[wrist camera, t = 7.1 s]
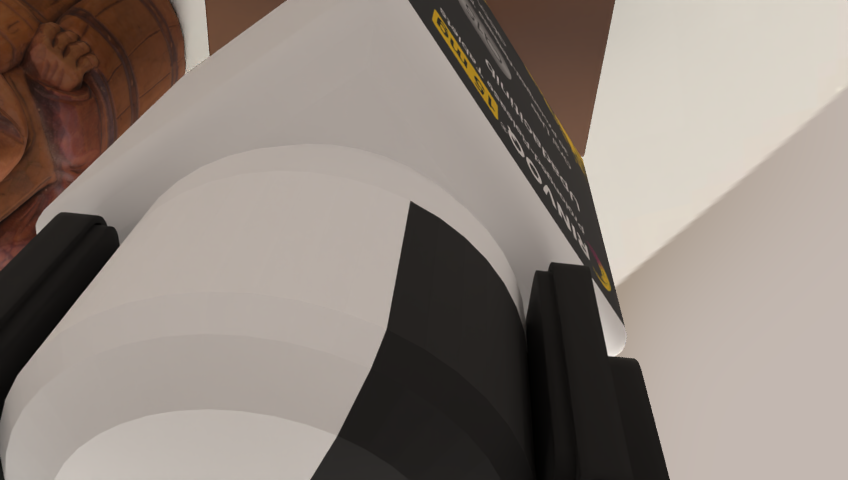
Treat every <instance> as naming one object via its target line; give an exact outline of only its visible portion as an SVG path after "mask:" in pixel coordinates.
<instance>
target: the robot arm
mask: <svg viewBox="0 0 848 480" xmlns="http://www.w3.org/2000/svg"><path fill="white" fill-rule="evenodd" d="M119 247H120V243H119V237H118V233H117V231H116V229H115V228H114V227H112V226H107V223H106V221H105V220H104V218H103V217H101V216H99V215H89V214H79V213H70V212H60V213H59V214H57V215H56V216H55V217H54V218H53V219H52V220H51V221H50V222H49V223H48V224H47V225H46V226H45V227H44V228H43V229H42V230H41V231H40V232H39V233H38V234H37V235H36V236H35V237H34V238H33V239H32V240H31V241H30V242H29V243H28V244H27V245H26V246H25V247H24V248H23V249H22V250H21V251H20V252H19V253H18V254H17V255H16V256H15V257H14V258H13V259H12V260H11V261H10V262H9V263H8V264H7V265H6V266H5V267H4V268H3V269H2V270H1V271H0V420H1V416H2V412H3V407H4V403H5V399H6V397H7V395H8V393H9V391H10V389H11V387H12V385H13V383H14V381H15V379H16V377H17V375H18V374H19V373H20V371H21V370H22V369H23V368H24V366H25V365H26V364H27V363H28V361H29V360H30V359H31V357H32V356H33V355H34V354H35V352H36V351H37V350H38V349H39V347H40V346H41V345H42V344H43V342H44V341H45V340H46V339H47V337H48V336H49V335H50V334H51V332H52V331H53V330H54V328H55V327H56V326H57V325H58V323H59V322H60V321H61V320H62V318H63V317H64V316H65V315H66V313H67V312H68V311H69V310H70V308H71V307H72V306H73V305H74V303H75V302H76V301H77V299H78V298H79V297H80V296H81V294H82V293H83V292H84V291H85V289H86V288H87V287H88V286H89V284H90V283H91V282H92V281H93V279H94V278H95V277H96V276H97V274H98V273H99V272H100V270H101V269H102V268H103V267H104V265H105V264H106V263H107V262H108V260H109V259H110V258H111V257H112V255H113V254H114V253H115V252H116V250H117V249H118V248H119ZM525 322H526V336H527V350H528V364H529V379H530V393H531V407H532V421H533V436H534V450H535V464H536V478H537V480H670V479H669V476H668V471H667V467H666V463H665V459H664V455H663V452H662V448H661V444H660V440H659V436H658V432H657V429H656V425H655V421H654V417H653V413H652V409H651V405H650V402H649V398H648V394H647V390H646V386H645V382H644V378H643V375H642V371H641V368H640V365H639V363H638V361H637V360H636V359H632V358H623V357H614V356H608V353H607V348H606V343H605V339H604V334H603V329H602V324H601V319H600V315H599V310H598V305H597V300H596V295H595V290H594V286H593V281H592V276H591V271H590V268H589V266H585V265H576V264H566V263H556V262H551V263H550V265H549V268H548V271H540V270H536V271H535V274H534V278H533V283H532V288H531V294H530V299H529V305H528V310H527V315H526V321H525ZM0 480H5V479H4V474H3V469H2V463H1V458H0Z"/></svg>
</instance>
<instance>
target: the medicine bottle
mask: <svg viewBox="0 0 848 480" xmlns="http://www.w3.org/2000/svg"><path fill="white" fill-rule="evenodd" d="M60 212H70V213H79V214H89V215H99V216H101V217H103V218H104V220H105V221H106V223H107V226H112V227H114V228H115V229H116V231H117V233H118V237H119V243H120V247H119V248H118V249H117V250H116V252H115V253H114V254H113V255H112V257H111V258H110V259H109V260H108V262H107V263H106V264H105V265H104V267H103V268H102V269H101V270H100V272H99V273H98V274H97V276H96V277H95V278H94V279H93V281H92V282H91V283H90V284H89V286H88V287H87V288H86V289H85V291H84V292H83V293H82V294H81V296H80V297H79V298H78V299H77V301H76V302H75V303H74V305H73V306H72V307H71V308H70V310H69V311H68V312H67V313H66V315H65V316H64V317H63V318H62V320H61V321H60V322H59V323H58V325H57V326H56V327H55V328H54V330H53V331H52V332H51V334H50V335H49V336H48V337H47V339H46V340H45V341H44V342H43V344H42V345H41V346H40V347H39V349H38V350H37V351H36V352H35V354H34V355H33V356H32V357H31V359H30V360H29V361H28V363H27V364H26V365H25V366H24V368H23V369H22V370H21V371H20V373H19V374H18V375H17V377H16V379H15V381H14V383H13V385H12V387H11V389H10V391H9V393H8V395H7V397H6V399H5V403H4V407H3V412H2V416H1V420H0V458H1V463H2V469H3V474H4V479H5V480H537V478H536V464H535V450H534V436H533V421H532V407H531V393H530V379H529V364H528V350H527V336H526V322H525V321H526V315H527V310H528V305H529V299H530V294H531V288H532V283H533V278H534V274H535V271H536V270H540V271H548V268H549V265H550V263H551V262H556V263H566V264H576V265H585V266H589V268H590V271H591V276H592V281H593V286H594V290H595V295H596V300H597V305H598V310H599V315H600V319H601V324H602V329H603V334H604V339H605V343H606V348H607V353H608V356H616V355H617V354H619V353H620V352H621V351H622V350H623V348H624V346H625V344H626V339H627V334H626V330H625V326H624V322H623V318H622V314H621V310H620V306H619V302H618V298H617V294H616V290H615V286H614V282H613V278H612V274H611V270H610V266H609V262H608V258H607V254H606V250H605V246H604V242H603V238H602V234H601V230H600V226H599V222H598V219H597V215H596V211H595V207H594V203H593V199H592V195H591V191H590V187H589V183H588V179H587V175H586V171H585V167H584V163H583V159H582V158H581V156H580V154H579V153H578V151H577V150H576V148H575V146H574V145H573V143H572V141H571V140H570V138H569V137H568V135H567V133H566V132H565V130H564V128H563V127H562V125H561V124H560V122H559V120H558V119H557V117H556V115H555V114H554V112H553V111H552V109H551V107H550V106H549V104H548V102H547V101H546V99H545V98H544V96H543V94H542V93H541V91H540V89H539V88H538V86H537V85H536V83H535V81H534V80H533V78H532V76H531V75H530V73H529V72H528V70H527V68H526V67H525V65H524V63H523V62H522V60H521V58H520V57H519V55H518V54H517V52H516V50H515V49H514V47H513V45H512V44H511V42H510V41H509V39H508V37H507V36H506V34H505V32H504V31H503V29H502V28H501V26H500V24H499V23H498V21H497V19H496V18H495V16H494V15H493V13H492V11H491V10H490V8H489V6H488V5H487V3H486V2H485V0H286V1H285V2H284V3H282V4H281V5H280V6H278V7H277V8H275V9H274V10H273V11H271V12H270V13H269V14H267V15H266V16H265V17H263V18H262V19H260V20H259V21H258V22H256V23H255V24H254V25H252V26H251V27H249V28H248V29H247V30H245V31H244V32H243V33H241V34H240V35H238V36H237V37H236V38H234V39H233V40H232V41H230V42H229V43H228V44H226V45H225V46H223V47H222V48H221V49H219V50H218V51H217V52H215V53H214V54H212V55H211V56H210V57H208V58H207V59H206V60H204V61H203V62H202V63H200V64H199V65H197V66H196V67H195V68H193V69H192V70H191V71H189V72H188V73H186V74H185V75H184V76H183V77H182V78H180V79H179V80H178V81H177V82H176V83H175V84H174V85H173V86H172V87H171V88H170V89H169V90H168V91H167V92H166V93H165V94H164V95H163V96H162V97H161V98H160V99H159V100H158V101H157V102H156V103H155V104H154V105H152V106H151V107H150V108H149V109H148V110H147V111H146V112H145V113H144V114H143V115H142V116H141V117H140V118H139V119H138V120H137V121H136V122H135V123H134V124H133V125H132V126H131V127H130V128H129V129H128V130H127V131H125V132H124V133H123V134H122V135H121V136H120V137H119V138H118V139H117V140H116V141H115V142H114V143H113V144H112V145H111V146H110V147H109V148H108V149H107V150H106V151H105V152H104V153H103V154H102V155H101V156H100V157H99V158H97V159H96V160H95V161H94V162H93V163H92V164H91V165H90V166H89V167H88V168H87V169H86V170H85V171H84V172H83V173H82V174H81V175H80V176H79V177H78V178H77V179H76V180H75V181H74V182H73V183H72V184H71V185H69V186H68V187H67V188H66V189H65V190H64V191H63V192H62V193H61V194H60V195H59V196H58V197H57V198H56V199H55V200H54V201H53V202H52V203H51V204H50V205H49V206H48V207H47V208H46V209H45V210H44V211H43V212H42V214H41V215H40V217H39V218H38V221H37V223H36V234H38V233H39V232H40V231H41V230H42V229H43V228H44V227H45V226H46V225H47V224H48V223H49V222H50V221H51V220H52V219H53V218H54V217H55V216H56V215H57V214H59V213H60Z"/></svg>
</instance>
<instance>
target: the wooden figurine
mask: <svg viewBox="0 0 848 480" xmlns="http://www.w3.org/2000/svg"><path fill="white" fill-rule="evenodd" d="M185 65H186V62H185V56H184V39H183V35H182V32H181V28H180V24H179V21H178V18H177V16H176V14H175V12H174V10H173V7H172V5H171V3H170V2H169V0H0V271H1V270H2V269H3V268H4V267H5V266H6V265H7V264H8V263H9V262H10V261H11V260H12V259H13V258H14V257H15V256H16V255H17V254H18V253H19V252H20V251H21V250H22V249H23V248H24V247H25V246H26V245H27V244H28V243H29V242H30V241H31V240H32V239H33V238H34V237H35V236H36V235H37V234H36V223H37V221H38V218H39V217H40V215H41V214H42V212H43V211H44V210H45V209H46V208H47V207H48V206H49V205H50V204H51V203H52V202H53V201H54V200H55V199H56V198H57V197H58V196H59V195H60V194H61V193H62V192H63V191H64V190H65V189H66V188H67V187H68V186H69V185H71V184H72V183H73V182H74V181H75V180H76V179H77V178H78V177H79V176H80V175H81V174H82V173H83V172H84V171H85V170H86V169H87V168H88V167H89V166H90V165H91V164H92V163H93V162H94V161H95V160H96V159H97V158H99V157H100V156H101V155H102V154H103V153H104V152H105V151H106V150H107V149H108V148H109V147H110V146H111V145H112V144H113V143H114V142H115V141H116V140H117V139H118V138H119V137H120V136H121V135H122V134H123V133H124V132H125V131H127V130H128V129H129V128H130V127H131V126H132V125H133V124H134V123H135V122H136V121H137V120H138V119H139V118H140V117H141V116H142V115H143V114H144V113H145V112H146V111H147V110H148V109H149V108H150V107H151V106H152V105H154V104H155V103H156V102H157V101H158V100H159V99H160V98H161V97H162V96H163V95H164V94H165V93H166V92H167V91H168V90H169V89H170V88H171V87H172V86H173V85H174V84H175V83H176V82H177V81H178V80H179V79H180V78H182V77H183V76H184V74H185Z"/></svg>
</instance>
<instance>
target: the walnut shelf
mask: <svg viewBox="0 0 848 480" xmlns="http://www.w3.org/2000/svg"><path fill="white" fill-rule="evenodd" d="M285 1H286V0H205V5H206V17H207V29H208V41H209V53H210V56H211V55H212V54H214V53H215V52H217V51H218V50H219V49H221V48H222V47H223V46H225V45H226V44H228V43H229V42H230V41H232V40H233V39H234V38H236V37H237V36H238V35H240V34H241V33H243V32H244V31H245V30H247V29H248V28H249V27H251V26H252V25H254V24H255V23H256V22H258V21H259V20H260V19H262V18H263V17H265V16H266V15H267V14H269V13H270V12H271V11H273V10H274V9H275V8H277V7H278V6H280V5H281V4H282V3H284V2H285ZM485 2H486V3H487V5H488V6H489V8H490V10H491V11H492V13H493V15H494V16H495V18H496V19H497V21H498V23H499V24H500V26H501V28H502V29H503V31H504V32H505V34H506V36H507V37H508V39H509V41H510V42H511V44H512V45H513V47H514V49H515V50H516V52H517V54H518V55H519V57H520V58H521V60H522V62H523V63H524V65H525V67H526V68H527V70H528V72H529V73H530V75H531V76H532V78H533V80H534V81H535V83H536V85H537V86H538V88H539V89H540V91H541V93H542V94H543V96H544V98H545V99H546V101H547V102H548V104H549V106H550V107H551V109H552V111H553V112H554V114H555V115H556V117H557V119H558V120H559V122H560V124H561V125H562V127H563V128H564V130H565V132H566V133H567V135H568V137H569V138H570V140H571V141H572V143H573V145H574V146H575V148H576V150H577V151H578V153H579V154H580V156H581V157H583V156H584V154H585V149H586V144H587V139H588V134H589V129H590V124H591V119H592V114H593V109H594V104H595V99H596V94H597V89H598V84H599V79H600V74H601V69H602V64H603V59H604V54H605V49H606V44H607V39H608V34H609V29H610V24H611V19H612V14H613V9H614V4H615V0H485Z"/></svg>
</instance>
